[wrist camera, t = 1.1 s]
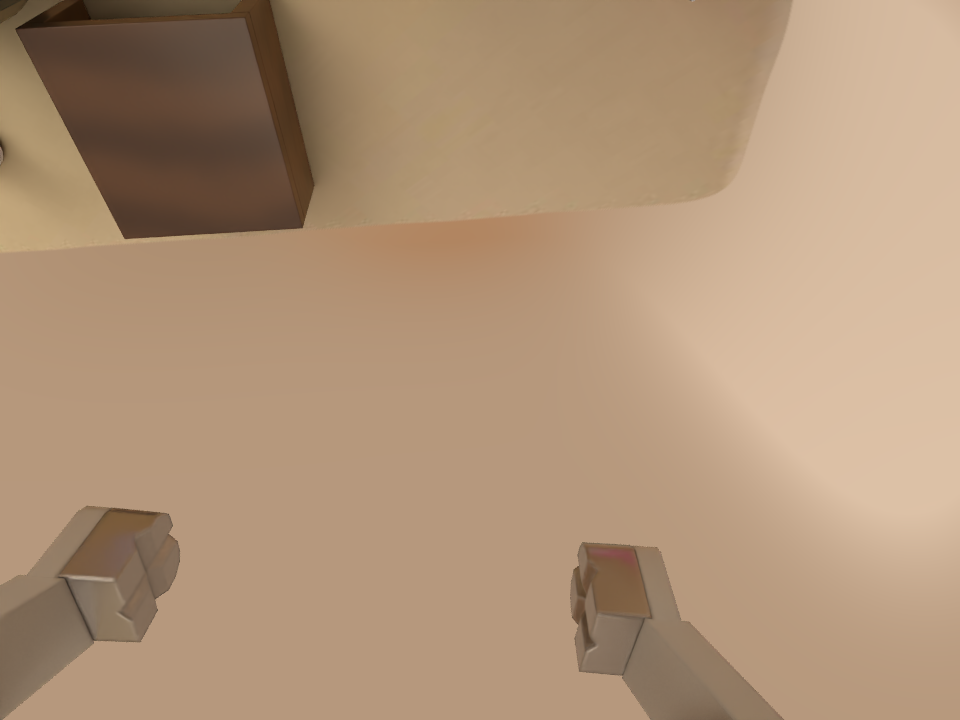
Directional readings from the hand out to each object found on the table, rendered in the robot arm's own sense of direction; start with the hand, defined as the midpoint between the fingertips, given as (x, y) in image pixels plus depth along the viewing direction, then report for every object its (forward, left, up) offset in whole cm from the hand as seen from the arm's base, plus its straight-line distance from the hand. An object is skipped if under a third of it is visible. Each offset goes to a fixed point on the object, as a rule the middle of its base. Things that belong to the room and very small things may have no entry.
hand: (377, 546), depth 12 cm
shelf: (+7, -17, -43) cm, 47 cm away
